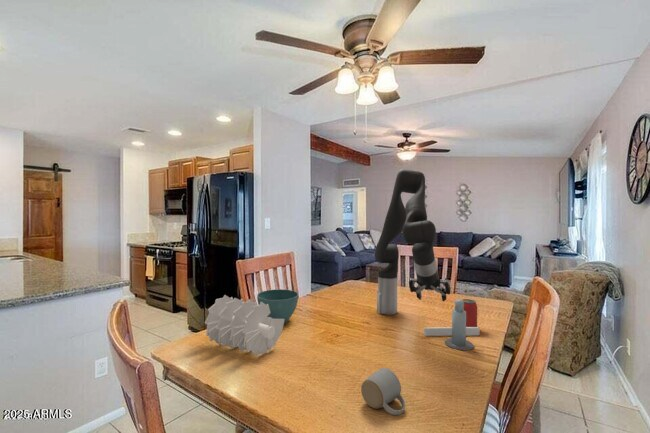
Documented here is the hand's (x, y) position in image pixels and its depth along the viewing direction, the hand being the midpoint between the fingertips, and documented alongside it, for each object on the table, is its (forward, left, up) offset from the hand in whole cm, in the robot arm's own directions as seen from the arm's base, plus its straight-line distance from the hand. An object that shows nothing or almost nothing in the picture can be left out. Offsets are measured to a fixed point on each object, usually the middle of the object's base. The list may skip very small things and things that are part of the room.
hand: (431, 298), depth 123 cm
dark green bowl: (-61, +23, -16) cm, 67 cm away
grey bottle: (+9, -4, -16) cm, 18 cm away
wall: (+10, +5, -16) cm, 19 cm away
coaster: (+9, -4, -16) cm, 19 cm away
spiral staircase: (-70, -5, -16) cm, 72 cm away
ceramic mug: (-26, -40, -16) cm, 51 cm away
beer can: (+20, +11, -16) cm, 28 cm away
